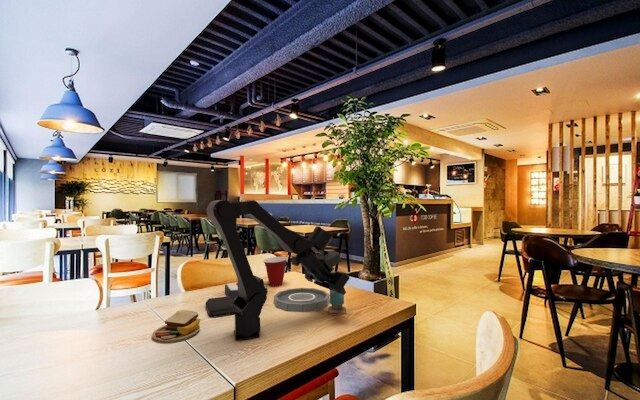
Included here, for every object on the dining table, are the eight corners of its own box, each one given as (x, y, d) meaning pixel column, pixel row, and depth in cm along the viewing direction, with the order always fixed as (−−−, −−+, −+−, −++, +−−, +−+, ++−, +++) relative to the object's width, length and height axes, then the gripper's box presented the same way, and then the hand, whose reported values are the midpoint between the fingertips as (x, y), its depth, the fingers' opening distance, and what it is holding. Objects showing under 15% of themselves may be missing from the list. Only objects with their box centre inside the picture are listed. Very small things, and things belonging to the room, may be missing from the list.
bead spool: (331, 315, 105) (331, 276, 105) (325, 310, 111) (325, 272, 111) (348, 313, 107) (348, 274, 107) (341, 308, 113) (341, 271, 113)
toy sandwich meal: (141, 340, 89) (141, 322, 89) (179, 322, 101) (179, 307, 101) (176, 347, 84) (175, 329, 84) (211, 328, 97) (211, 312, 97)
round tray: (281, 314, 107) (280, 306, 107) (270, 297, 126) (270, 290, 126) (336, 307, 114) (336, 300, 114) (318, 292, 132) (318, 286, 132)
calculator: (267, 286, 130) (229, 289, 124) (267, 297, 130) (229, 300, 123) (260, 280, 140) (224, 282, 133) (260, 290, 140) (224, 293, 133)
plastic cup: (261, 283, 148) (261, 256, 148) (284, 281, 151) (284, 255, 151) (264, 289, 137) (264, 261, 137) (289, 287, 141) (289, 259, 141)
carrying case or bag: (242, 314, 108) (234, 302, 122) (242, 305, 108) (234, 293, 122) (209, 319, 104) (205, 306, 117) (209, 310, 104) (204, 297, 117)
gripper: (344, 247, 99) (371, 278, 105) (311, 241, 115) (337, 268, 121) (323, 276, 95) (352, 306, 101) (292, 265, 110) (319, 292, 116)
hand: (340, 291), depth 110 cm, fingers closed on bead spool, 5 cm apart
